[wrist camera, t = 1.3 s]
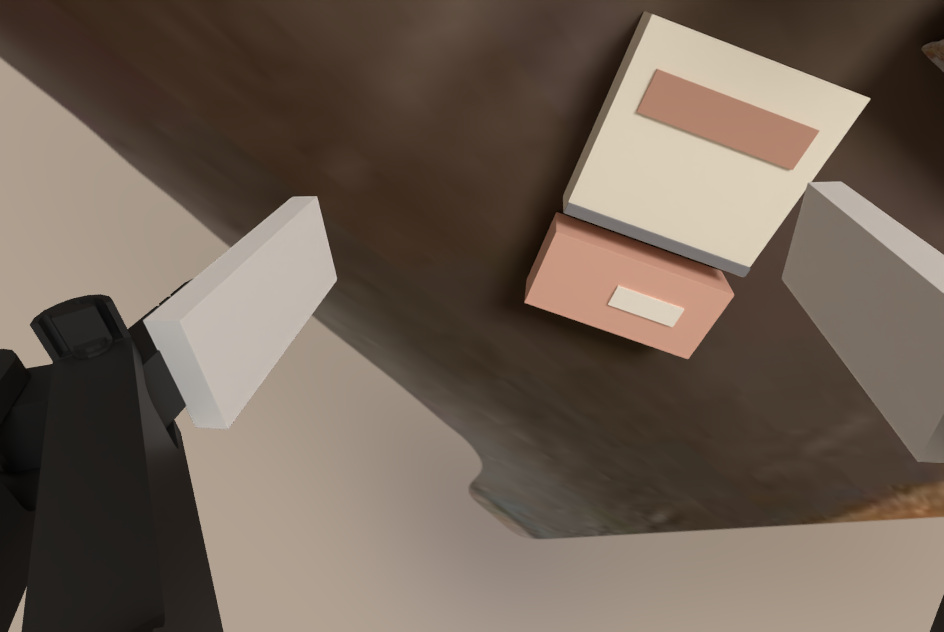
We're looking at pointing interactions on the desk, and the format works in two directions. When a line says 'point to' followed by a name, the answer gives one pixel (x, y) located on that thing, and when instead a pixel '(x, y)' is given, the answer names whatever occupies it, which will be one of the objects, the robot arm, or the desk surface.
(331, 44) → the desk surface
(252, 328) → the robot arm
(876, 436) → the desk surface
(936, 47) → the geological specimen
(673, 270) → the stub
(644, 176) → the cream block with stripe
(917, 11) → the desk surface
